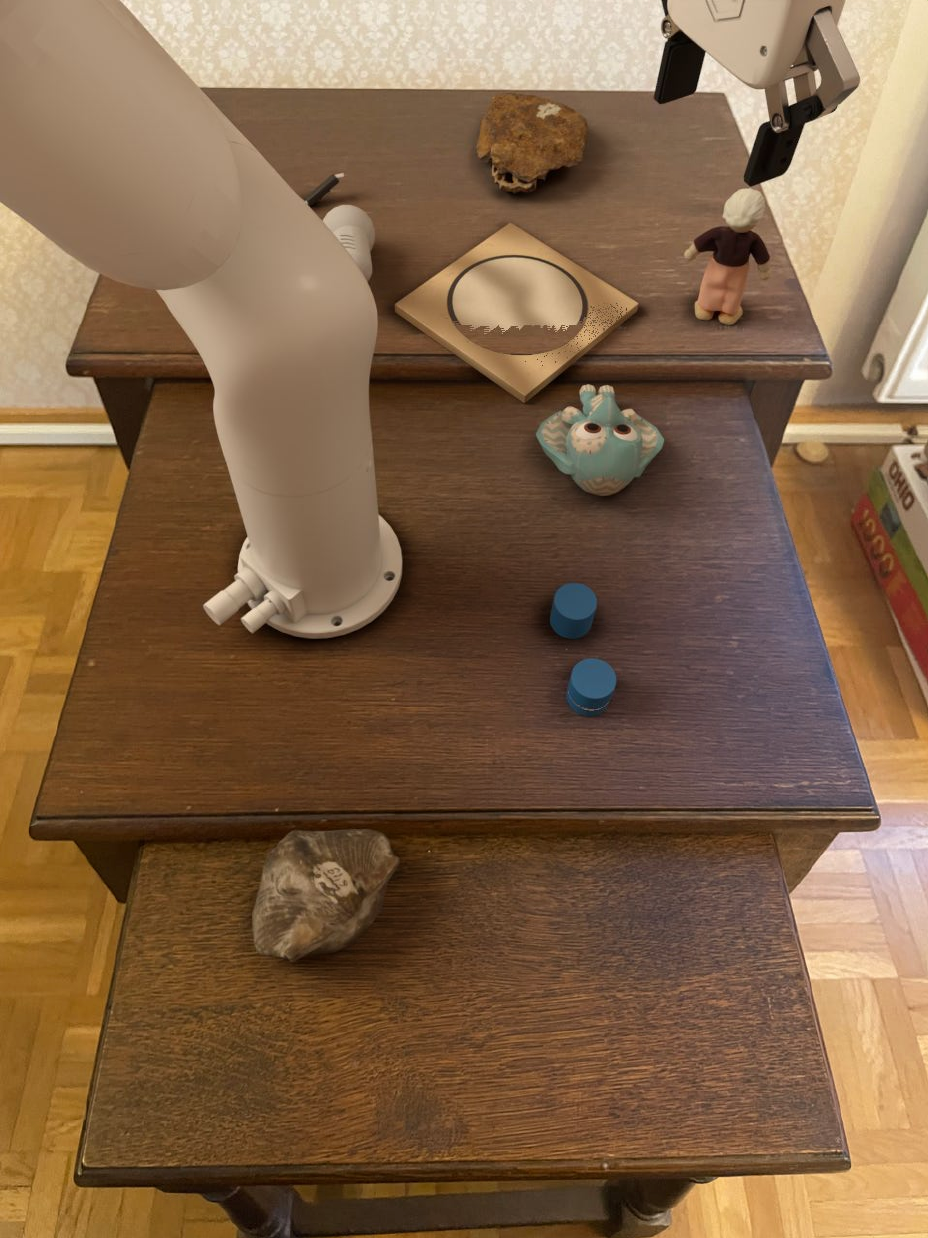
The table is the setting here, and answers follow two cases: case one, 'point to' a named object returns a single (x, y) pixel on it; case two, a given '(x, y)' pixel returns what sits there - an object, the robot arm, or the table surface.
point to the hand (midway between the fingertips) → (717, 136)
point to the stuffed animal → (599, 442)
